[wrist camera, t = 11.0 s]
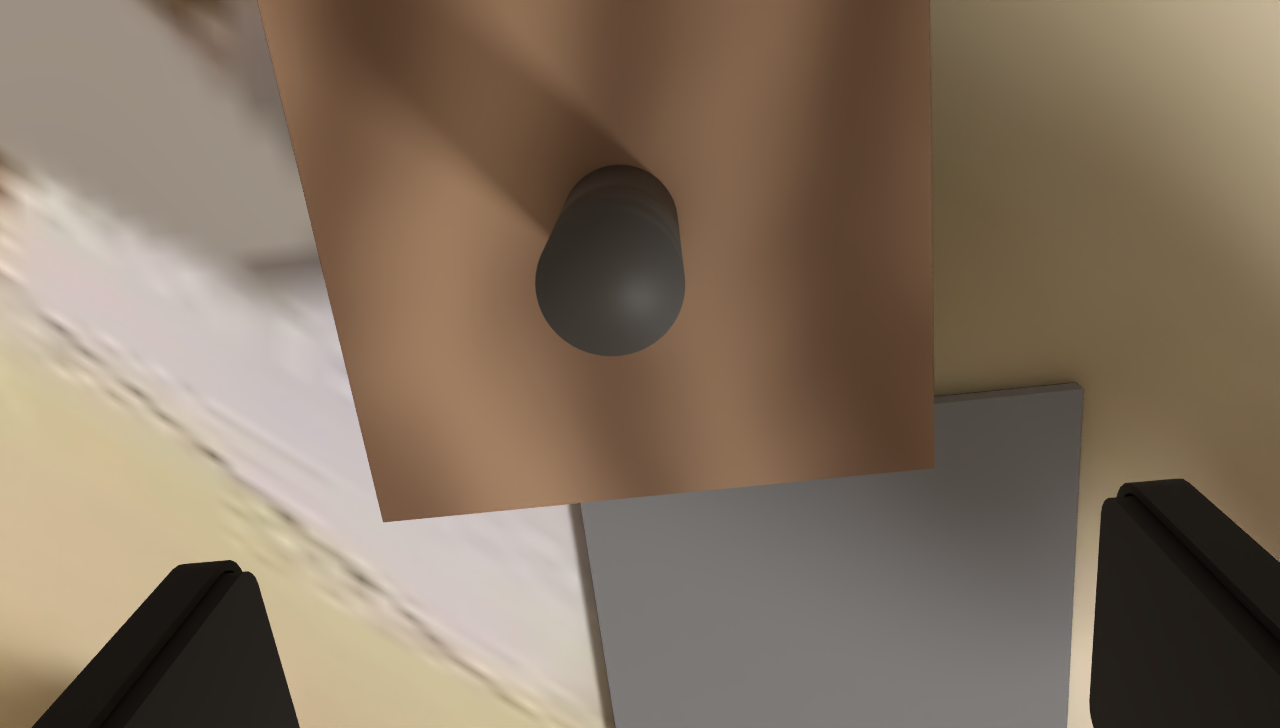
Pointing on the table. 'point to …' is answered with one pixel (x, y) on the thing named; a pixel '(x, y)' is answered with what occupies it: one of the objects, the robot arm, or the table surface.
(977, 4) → the table surface
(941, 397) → the mat
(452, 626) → the table surface
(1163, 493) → the robot arm
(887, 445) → the lid
